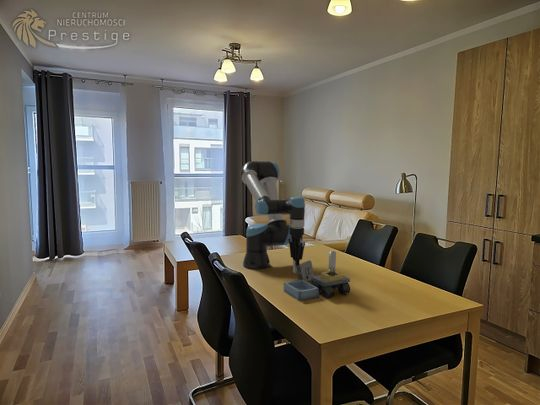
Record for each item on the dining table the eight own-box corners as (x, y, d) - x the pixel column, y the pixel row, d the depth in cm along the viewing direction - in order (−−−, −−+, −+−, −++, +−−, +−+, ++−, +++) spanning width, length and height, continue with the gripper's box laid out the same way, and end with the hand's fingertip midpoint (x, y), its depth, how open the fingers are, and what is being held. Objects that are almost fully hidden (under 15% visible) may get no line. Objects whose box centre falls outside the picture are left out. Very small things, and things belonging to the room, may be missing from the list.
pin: (327, 277, 162) (327, 251, 161) (332, 276, 164) (333, 250, 163) (331, 279, 160) (332, 253, 158) (336, 278, 161) (337, 252, 160)
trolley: (308, 290, 166) (309, 271, 165) (332, 285, 173) (333, 267, 172) (326, 300, 154) (327, 279, 153) (351, 294, 161) (352, 275, 160)
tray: (283, 291, 164) (283, 282, 164) (302, 288, 169) (302, 279, 168) (299, 301, 153) (299, 291, 152) (318, 297, 158) (318, 288, 157)
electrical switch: (304, 283, 176) (303, 264, 175) (296, 282, 179) (295, 263, 179) (315, 278, 183) (314, 260, 183) (306, 277, 186) (305, 259, 186)
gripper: (284, 225, 190) (283, 269, 192) (297, 229, 178) (296, 276, 181) (296, 224, 193) (295, 267, 196) (310, 228, 182) (309, 274, 184)
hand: (296, 271), depth 188 cm, fingers closed
